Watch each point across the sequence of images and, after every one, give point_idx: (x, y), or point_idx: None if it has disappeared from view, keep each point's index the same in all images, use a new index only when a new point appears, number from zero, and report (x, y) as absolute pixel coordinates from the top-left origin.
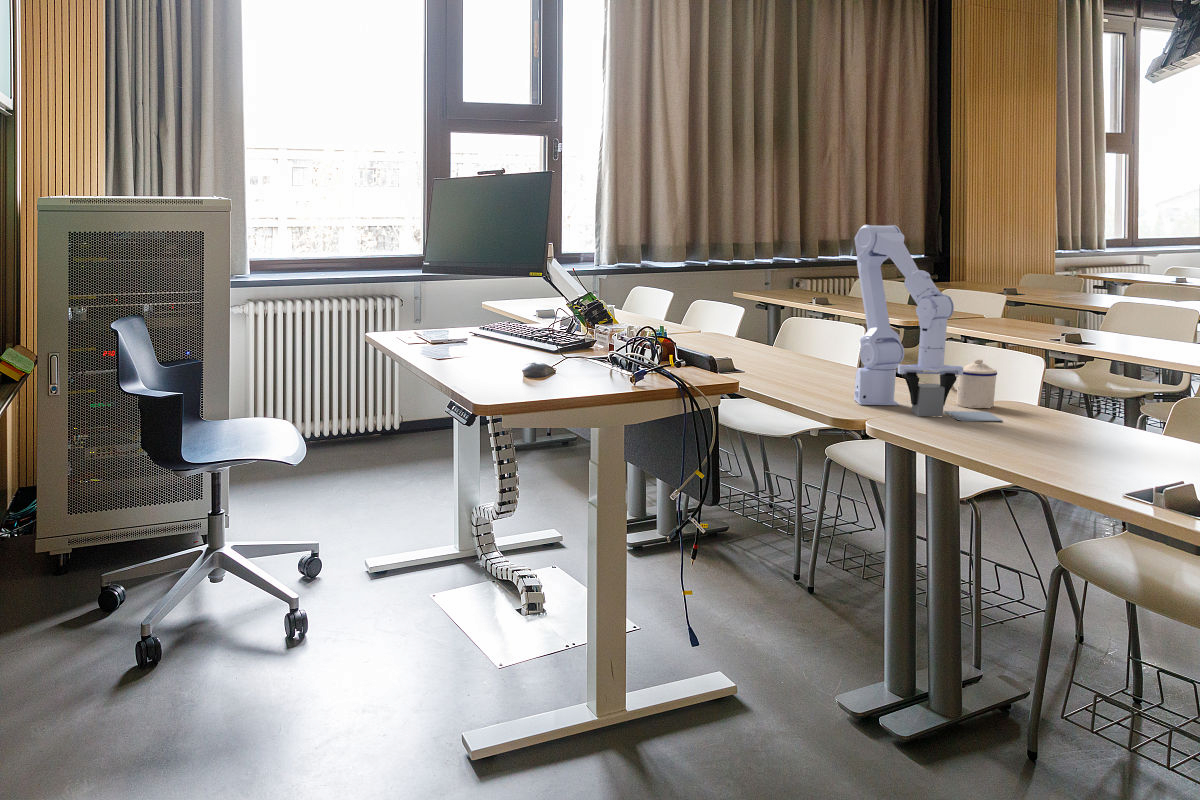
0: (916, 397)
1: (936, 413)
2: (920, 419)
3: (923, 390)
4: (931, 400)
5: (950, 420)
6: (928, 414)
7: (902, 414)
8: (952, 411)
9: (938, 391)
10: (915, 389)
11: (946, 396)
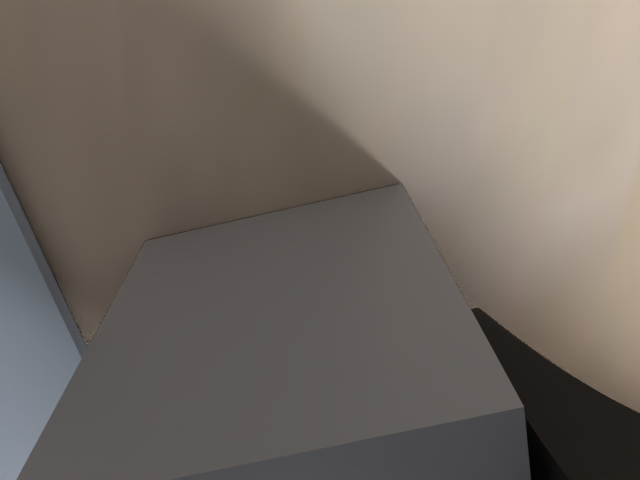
0: None
1: (205, 241)
2: (390, 36)
3: (432, 373)
4: (267, 310)
5: (46, 93)
6: (294, 218)
7: (546, 260)
8: None
9: (143, 428)
10: (570, 423)
11: None
